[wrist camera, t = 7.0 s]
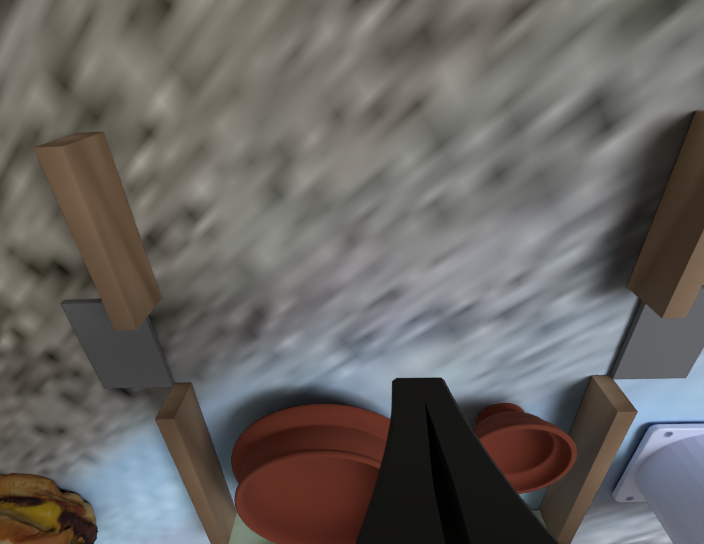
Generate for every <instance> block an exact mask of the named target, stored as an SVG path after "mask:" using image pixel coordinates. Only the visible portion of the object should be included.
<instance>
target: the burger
mask: <svg viewBox="0 0 704 544" xmlns="http://www.w3.org/2000/svg"><path fill="white" fill-rule="evenodd" d="M95 524H96V518H95V515H94V512H93V508H92V506H91V505H90V504H88V503H85V502H84V501H83V499H82V498H81V497H80V495H79V494H77V493H69V492H66V493H61V491H60V490H59V489H58V488H57V487H56V484H55V482H54V481H52V480H50V479H48V478H45V477H42V476H37V475H30V474H15V473H12V474H10V475H0V544H94V542H95V540H96V539H97V532H98V530H97V529H98V528H97V526H96V525H95Z"/></svg>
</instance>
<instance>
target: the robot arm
mask: <svg viewBox="0 0 704 544" xmlns="http://www.w3.org/2000/svg"><path fill="white" fill-rule="evenodd" d="M612 496H613V498H614V500H615V501H617V502H647V503H648V504H649V506H650V507H651V509H652V511H653V512H654V514H655V515H656V517H657V518H658V520H659V522H660V523H661V525H662V526H663V528H664V530H665V531H666V533H667V534H668V536H669V537H670V539H671V541H672V542H673V544H704V424H656V425H653V426H651V427H649V428H648V430H647V432H646V433H645V435H644V437H643V439H642V441H641V443H640V444H639V446H638V448H637V450H636V452H635V453H634V455H633V457H632V459H631V461H630V463H629V464H628V466H627V468H626V470H625V472H624V473H623V475H622V477H621V479H620V481H619V483H618V484H617V486H616V488H615V490H614V492H613V494H612ZM355 544H560V543H559V542H558V541H557V540H556V539H555V537H554V536H553V535H552V534H551V533H550V532H549V531H548V529H547V528H546V527H545V526H544V525H543V524H542V522H541V521H540V520H539V519H538V518H537V516H536V515H535V514H534V513H533V512H532V510H531V509H530V508H529V507H528V506H527V504H526V503H525V502H524V501H523V499H522V498H521V497H520V495H519V494H518V493H517V492H516V490H515V489H514V488H513V486H512V485H511V484H510V482H509V481H508V480H507V478H506V477H505V476H504V474H503V473H502V472H501V470H500V469H499V468H498V466H497V465H496V463H495V462H494V461H493V459H492V458H491V456H490V455H489V454H488V452H487V451H486V449H485V448H484V446H483V445H482V443H481V442H480V440H479V439H478V437H477V436H476V434H475V433H474V431H473V430H472V428H471V426H470V425H469V423H468V422H467V420H466V418H465V417H464V415H463V413H462V412H461V410H460V408H459V407H458V405H457V403H456V401H455V400H454V398H453V396H452V394H451V392H450V390H449V388H448V387H447V385H446V382H445V381H444V380H443V379H442V378H396V379H395V380H393V381H392V409H391V420H390V426H389V431H388V436H387V441H386V446H385V450H384V454H383V458H382V462H381V466H380V469H379V473H378V477H377V480H376V484H375V487H374V490H373V494H372V497H371V500H370V503H369V506H368V509H367V512H366V515H365V518H364V521H363V524H362V526H361V529H360V532H359V534H358V537H357V540H356V542H355Z"/></svg>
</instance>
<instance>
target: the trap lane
mask: <svg viewBox="0 0 704 544" xmlns="http://www.w3.org/2000/svg"><path fill="white" fill-rule="evenodd" d="M34 150H35V153H36V155H37V157H38V159H39V161H40V164H41V166H42V168H43V170H44V173H45V175H46V177H47V179H48V182H49V184H50V186H51V188H52V190H53V193H54V195H55V197H56V199H57V202H58V204H59V206H60V208H61V211H62V213H63V215H64V217H65V219H66V222H67V224H68V226H69V228H70V231H71V233H72V235H73V237H74V240H75V242H76V244H77V246H78V248H79V251H80V253H81V255H82V257H83V260H84V262H85V264H86V266H87V269H88V271H89V273H90V275H91V277H92V280H93V282H94V284H95V286H96V289H97V291H98V293H99V295H100V297H101V300H102V302H103V304H104V306H105V309H106V311H107V313H108V315H109V318H110V320H111V322H112V324H113V326H114V329H115V330H138V328H139V327H140V326H141V324H142V323H143V322H144V320H145V319H146V318H147V317H148V315H149V314H150V313H151V311H152V310H153V309H154V307H155V306H156V305H157V303H158V302H159V301H160V300H161V295H160V292H159V289H158V286H157V284H156V281H155V278H154V275H153V272H152V269H151V266H150V264H149V261H148V258H147V255H146V252H145V249H144V247H143V244H142V241H141V238H140V235H139V232H138V229H137V227H136V224H135V221H134V218H133V215H132V212H131V209H130V207H129V204H128V201H127V198H126V195H125V192H124V189H123V187H122V184H121V181H120V178H119V175H118V172H117V170H116V167H115V164H114V161H113V158H112V155H111V152H110V150H109V147H108V144H107V141H106V138H105V135H104V132H92V133H77V134H74V135H71V136H68V137H65V138H62V139H59V140H55V141H52V142H49V143H46V144H43V145H40V146H37V147H34ZM703 283H704V110H702V111H696V112H695V115H694V117H693V120H692V123H691V125H690V128H689V130H688V133H687V135H686V138H685V140H684V143H683V145H682V148H681V151H680V153H679V156H678V158H677V161H676V163H675V166H674V168H673V171H672V173H671V176H670V179H669V181H668V184H667V186H666V189H665V191H664V194H663V196H662V199H661V201H660V204H659V207H658V209H657V212H656V214H655V217H654V219H653V222H652V224H651V227H650V229H649V232H648V235H647V237H646V240H645V242H644V245H643V247H642V250H641V252H640V255H639V257H638V260H637V263H636V265H635V268H634V270H633V273H632V275H631V278H630V280H629V283H628V285H627V287H628V288H629V289H630V290H631V291H632V292H633V293H634V294H635V295H636V296H638V297H639V298H640V299H641V300H642V301H643V302H644V303H645V304H646V305H648V306H649V307H650V308H651V309H652V310H653V311H654V312H655V313H656V314H658V315H659V316H660V317H661V318H686V316H687V314H688V312H689V310H690V309H691V307H692V305H693V303H694V301H695V299H696V297H697V295H698V293H699V291H700V289H701V287H702V285H703ZM637 412H638V411H637V410H636V409H635V407H634V406H633V405H632V404H631V402H630V401H629V400H628V398H627V397H626V396H625V394H624V393H623V392H622V390H621V389H620V388H619V387H618V385H617V384H616V383H615V381H614V380H613V379H612V377H611V376H610V375H603V376H592V377H591V380H590V382H589V385H588V387H587V390H586V392H585V395H584V397H583V400H582V403H581V405H580V408H579V410H578V413H577V415H576V418H575V420H574V423H573V425H572V428H571V431H570V433H569V436H570V437H571V439H572V440H573V441H574V443H575V445H576V449H577V457H576V460H575V463H574V465H573V466H572V468H571V469H570V470H569V471H568V472H567V473H566V474H565V475H564V476H563V477H562V478H560V479H559V480H558V481H556V482H554V483H552V484H551V485H549V487H548V489H547V492H546V494H545V497H544V499H543V502H542V504H541V507H540V509H539V510H532V512H533V513H534V514H535V515H536V516H537V518H538V519H539V520H540V521H541V522H542V524H543V525H544V526H545V527H546V528H547V529H548V531H549V532H550V533H551V534H552V535H553V536H554V537H555V539H556V540H557V541H558V542H559V543H560V544H570V543H571V541H572V539H573V537H574V536H575V534H576V532H577V530H578V528H579V526H580V524H581V522H582V520H583V518H584V516H585V514H586V512H587V510H588V508H589V506H590V504H591V502H592V500H593V498H594V496H595V494H596V492H597V491H598V489H599V487H600V485H601V483H602V481H603V479H604V477H605V475H606V473H607V471H608V469H609V467H610V465H611V463H612V461H613V459H614V457H615V455H616V453H617V451H618V449H619V447H620V446H621V444H622V442H623V440H624V438H625V436H626V434H627V432H628V430H629V428H630V426H631V424H632V422H633V420H634V418H635V416H636V414H637ZM155 420H156V422H157V425H158V427H159V429H160V431H161V433H162V436H163V438H164V440H165V442H166V445H167V447H168V449H169V451H170V454H171V456H172V458H173V460H174V462H175V465H176V467H177V469H178V471H179V474H180V476H181V478H182V480H183V483H184V485H185V487H186V489H187V491H188V494H189V496H190V498H191V500H192V503H193V505H194V507H195V509H196V511H197V514H198V516H199V518H200V520H201V523H202V525H203V527H204V529H205V532H206V534H207V536H208V538H209V540H210V543H211V544H276V543H273V542H271V541H269V540H267V539H265V538H263V537H261V536H259V535H258V534H256V533H255V532H253V531H252V530H251V529H250V528H249V527H247V526H246V524H245V523H244V522H243V521H242V520H241V518H240V517H239V515H238V513H237V512H236V509H235V506H234V503H233V500H232V498H231V495H230V492H229V489H228V486H227V483H226V480H225V478H224V475H223V472H222V469H221V466H220V463H219V460H218V458H217V455H216V452H215V449H214V446H213V443H212V441H211V438H210V435H209V432H208V429H207V426H206V423H205V421H204V418H203V415H202V412H201V409H200V406H199V403H198V401H197V398H196V395H195V392H194V389H193V386H192V383H174V385H173V387H172V389H171V390H170V392H169V394H168V396H167V398H166V400H165V402H164V404H163V405H162V407H161V409H160V411H159V413H158V415H157V417H156V418H155Z"/></svg>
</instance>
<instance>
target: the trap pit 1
mask: <svg viewBox="0 0 704 544" xmlns="http://www.w3.org/2000/svg"><path fill="white" fill-rule="evenodd" d="M61 306H62V308H63V310H64V312H65V314H66V316H67V318H68V319H69V321H70V323H71V325H72V327H73V329H74V331H75V333H76V335H77V337H78V339H79V341H80V343H81V345H82V346H83V348H84V350H85V352H86V354H87V356H88V358H89V360H90V362H91V364H92V366H93V368H94V370H95V372H96V373H97V375H98V377H99V379H100V381H101V383H102V385H103V387H104V388H154V387H173V385H174V381H173V378H172V376H171V373H170V370H169V368H168V365H167V363H166V360H165V357H164V355H163V352H162V350H161V347H160V344H159V342H158V339H157V336H156V334H155V331H154V329H153V326H152V323H151V321H150V318H149V316H148V317H147V318H146V319H145V320H144V322H143V323H142V324H141V326H140V327H139V328H138V330H115V329H114V326H113V324H112V322H111V320H110V318H109V315H108V313H107V311H106V309H105V306H104V304H103V302H102V300H64V301H63V302H62V303H61Z"/></svg>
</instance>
